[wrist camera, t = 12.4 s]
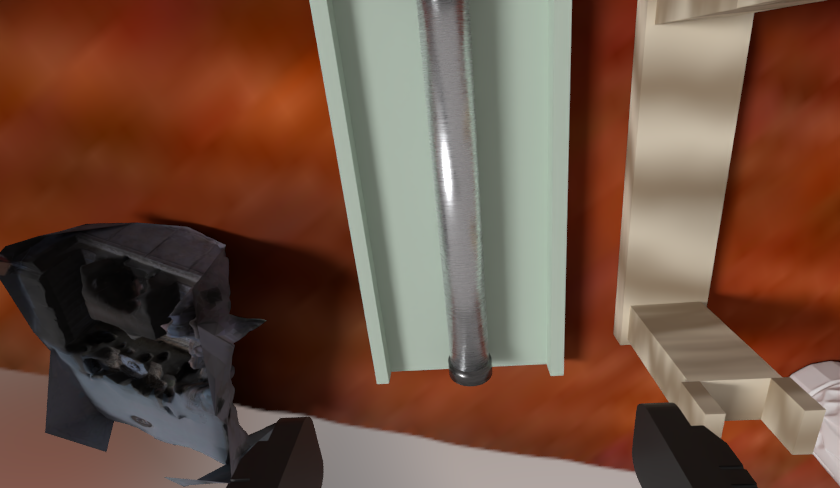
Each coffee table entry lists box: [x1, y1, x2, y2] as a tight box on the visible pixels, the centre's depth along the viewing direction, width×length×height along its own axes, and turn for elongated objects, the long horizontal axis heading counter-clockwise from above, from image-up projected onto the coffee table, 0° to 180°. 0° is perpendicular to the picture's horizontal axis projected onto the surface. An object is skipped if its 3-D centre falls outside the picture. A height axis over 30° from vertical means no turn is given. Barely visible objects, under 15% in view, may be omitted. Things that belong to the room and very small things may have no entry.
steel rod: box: [416, 0, 492, 386], centre depth 29 cm, size 28×3×3 cm, turn 6°
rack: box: [614, 0, 826, 455], centre depth 24 cm, size 26×6×12 cm, turn 6°
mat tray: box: [309, 0, 572, 384], centre depth 31 cm, size 30×15×2 cm, turn 6°
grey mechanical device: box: [0, 223, 276, 487], centre depth 34 cm, size 18×20×9 cm
